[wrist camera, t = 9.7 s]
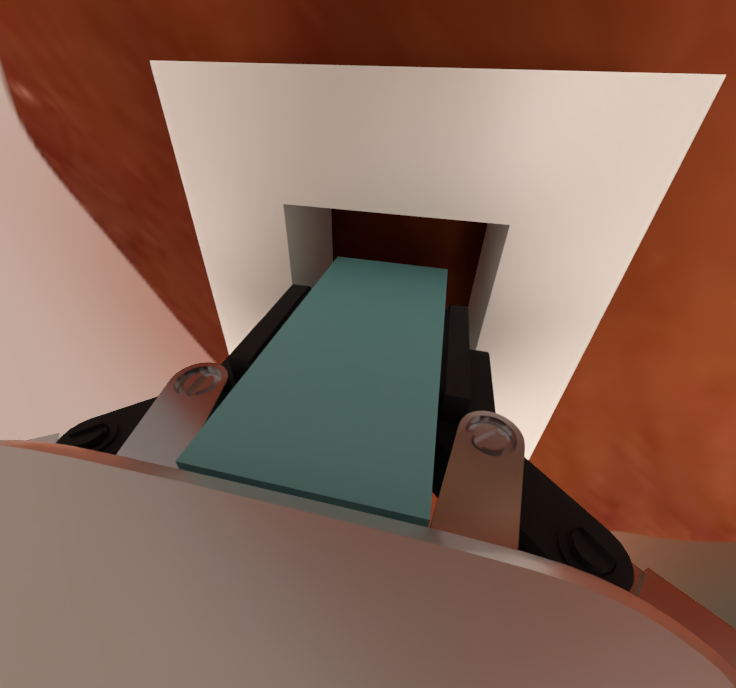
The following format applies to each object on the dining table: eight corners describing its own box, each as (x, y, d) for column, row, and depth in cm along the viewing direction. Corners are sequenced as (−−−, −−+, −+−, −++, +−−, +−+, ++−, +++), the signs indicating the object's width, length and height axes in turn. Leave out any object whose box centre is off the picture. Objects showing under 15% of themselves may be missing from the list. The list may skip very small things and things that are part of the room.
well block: (241, 70, 13) (149, 60, 9) (633, 81, 11) (726, 74, 7) (283, 352, 22) (244, 409, 18) (512, 390, 20) (526, 464, 16)
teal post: (337, 256, 13) (175, 461, 5) (447, 269, 12) (429, 520, 5) (339, 344, 15) (227, 569, 8) (431, 359, 14) (403, 618, 7)
